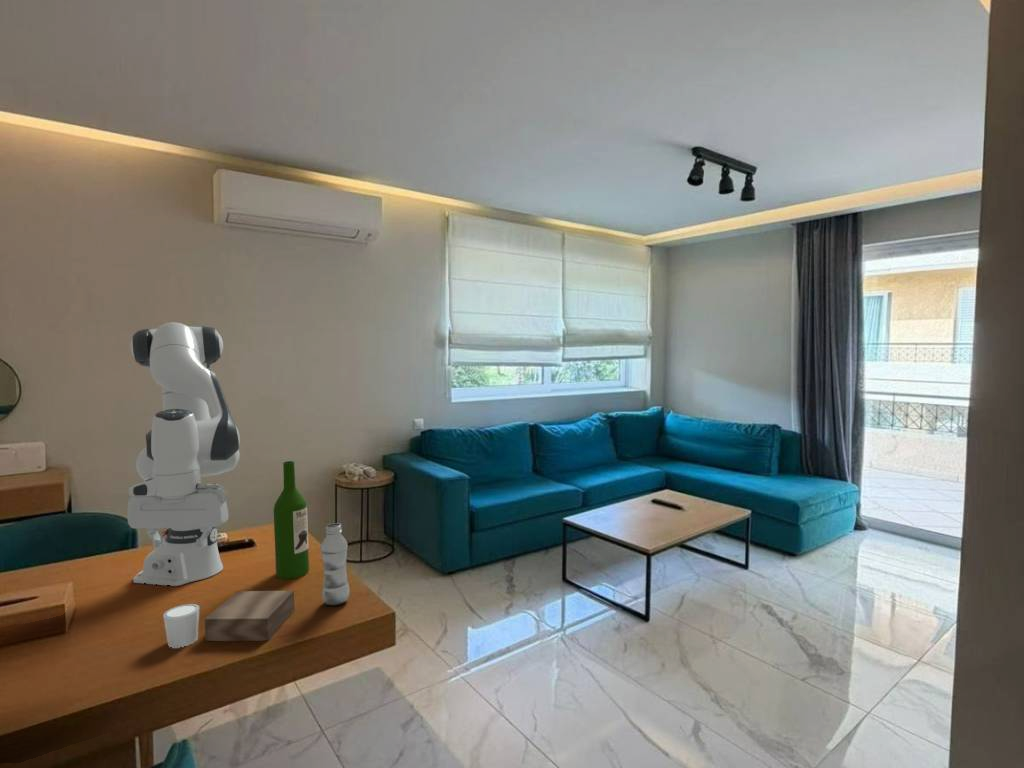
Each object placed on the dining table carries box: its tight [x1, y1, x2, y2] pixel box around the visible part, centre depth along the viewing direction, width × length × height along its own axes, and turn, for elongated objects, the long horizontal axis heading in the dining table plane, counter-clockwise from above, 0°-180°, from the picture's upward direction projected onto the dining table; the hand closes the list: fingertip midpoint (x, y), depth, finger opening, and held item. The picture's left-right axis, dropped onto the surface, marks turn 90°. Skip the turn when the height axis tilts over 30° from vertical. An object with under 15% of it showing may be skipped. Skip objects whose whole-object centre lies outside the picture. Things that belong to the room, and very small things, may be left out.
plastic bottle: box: [320, 522, 350, 606], centre depth 136 cm, size 6×7×20 cm
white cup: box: [163, 603, 200, 649], centre depth 119 cm, size 7×7×7 cm
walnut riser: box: [204, 590, 295, 642], centre depth 126 cm, size 14×14×5 cm
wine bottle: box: [273, 460, 310, 580], centre depth 155 cm, size 9×9×32 cm
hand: (180, 546), depth 118 cm, fingers open, 8 cm apart
